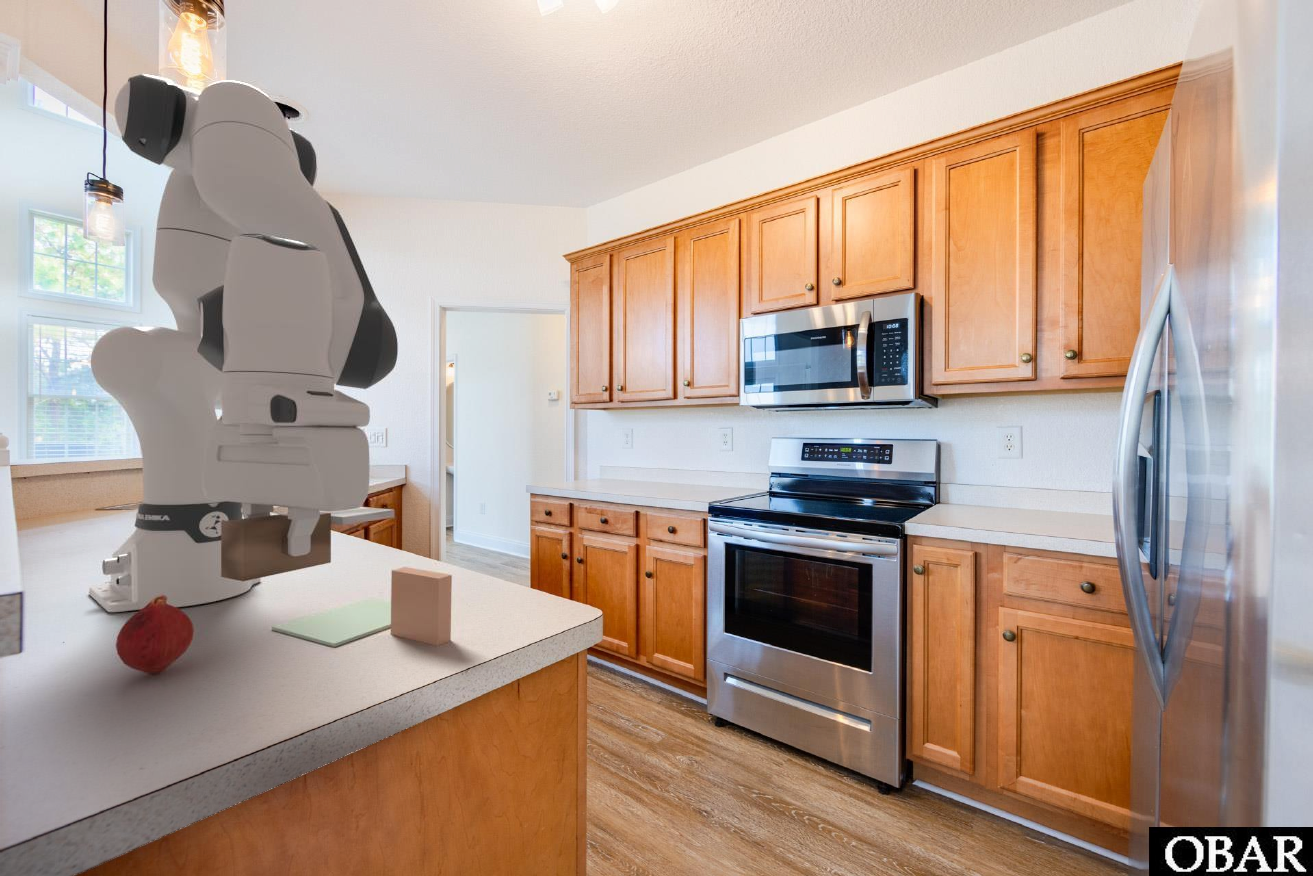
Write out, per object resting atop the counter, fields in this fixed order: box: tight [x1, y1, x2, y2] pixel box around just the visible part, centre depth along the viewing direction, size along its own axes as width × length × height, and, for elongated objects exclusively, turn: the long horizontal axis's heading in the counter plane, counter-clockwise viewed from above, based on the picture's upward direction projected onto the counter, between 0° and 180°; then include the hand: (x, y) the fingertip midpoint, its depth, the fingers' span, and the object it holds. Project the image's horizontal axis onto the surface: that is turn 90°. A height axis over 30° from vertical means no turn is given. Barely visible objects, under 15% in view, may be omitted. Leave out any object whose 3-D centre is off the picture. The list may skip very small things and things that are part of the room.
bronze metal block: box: [221, 506, 395, 581], centre depth 56 cm, size 7×14×5 cm, turn 155°
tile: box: [390, 566, 453, 646], centre depth 68 cm, size 8×2×8 cm, turn 65°
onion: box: [115, 595, 195, 675], centre depth 57 cm, size 6×6×8 cm
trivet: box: [271, 597, 391, 648], centre depth 74 cm, size 12×14×1 cm
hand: (280, 552), depth 53 cm, fingers closed on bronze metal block, 3 cm apart
